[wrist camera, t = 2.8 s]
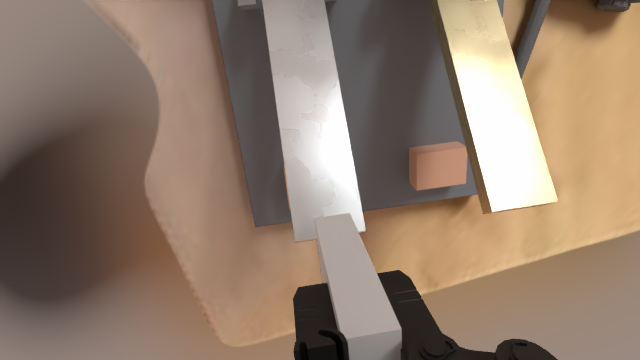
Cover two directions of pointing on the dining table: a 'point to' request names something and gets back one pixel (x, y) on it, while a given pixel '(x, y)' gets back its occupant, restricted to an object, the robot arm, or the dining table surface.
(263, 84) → the mount plate
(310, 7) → the steel strap
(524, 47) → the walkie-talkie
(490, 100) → the brass strap
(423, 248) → the dining table surface
